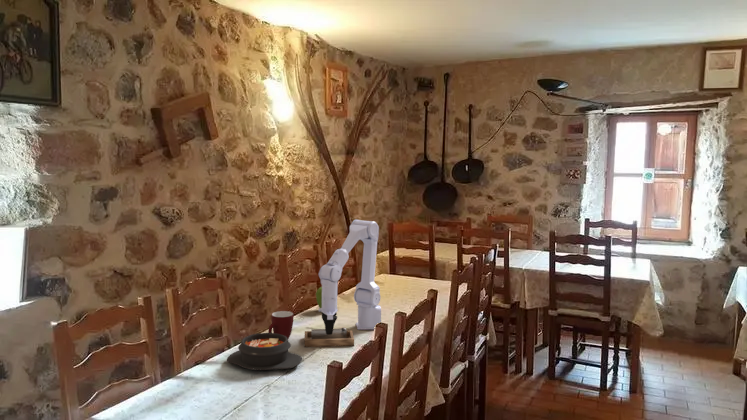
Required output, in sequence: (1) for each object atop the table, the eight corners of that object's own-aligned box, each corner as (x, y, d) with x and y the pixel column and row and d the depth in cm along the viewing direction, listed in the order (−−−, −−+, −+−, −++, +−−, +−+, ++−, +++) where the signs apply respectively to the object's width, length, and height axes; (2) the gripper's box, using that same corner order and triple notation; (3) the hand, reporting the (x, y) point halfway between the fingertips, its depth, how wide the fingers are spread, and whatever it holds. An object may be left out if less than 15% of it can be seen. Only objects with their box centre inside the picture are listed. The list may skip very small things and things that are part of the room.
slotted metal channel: (345, 339, 201) (346, 327, 201) (346, 341, 199) (346, 329, 199) (310, 339, 200) (310, 327, 199) (310, 341, 198) (310, 329, 197)
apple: (322, 315, 233) (323, 289, 232) (311, 310, 239) (312, 285, 238) (338, 311, 239) (339, 286, 238) (327, 307, 245) (327, 282, 244)
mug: (279, 347, 193) (279, 320, 192) (262, 343, 197) (262, 316, 196) (297, 339, 202) (297, 313, 201) (280, 335, 206) (281, 309, 205)
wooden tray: (351, 336, 206) (351, 330, 205) (354, 346, 196) (354, 339, 196) (304, 337, 203) (304, 331, 203) (304, 347, 194) (304, 340, 193)
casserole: (216, 371, 171) (216, 345, 170) (242, 350, 189) (242, 327, 188) (290, 379, 165) (290, 353, 165) (309, 357, 184) (310, 334, 183)
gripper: (318, 292, 205) (317, 326, 206) (319, 302, 190) (318, 339, 192) (336, 292, 205) (336, 326, 207) (338, 302, 191) (338, 339, 192)
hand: (329, 332), depth 199 cm, fingers closed on slotted metal channel, 2 cm apart
